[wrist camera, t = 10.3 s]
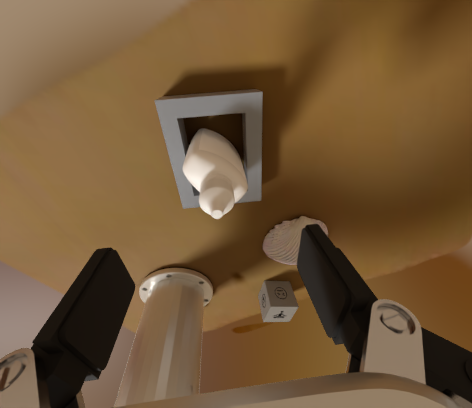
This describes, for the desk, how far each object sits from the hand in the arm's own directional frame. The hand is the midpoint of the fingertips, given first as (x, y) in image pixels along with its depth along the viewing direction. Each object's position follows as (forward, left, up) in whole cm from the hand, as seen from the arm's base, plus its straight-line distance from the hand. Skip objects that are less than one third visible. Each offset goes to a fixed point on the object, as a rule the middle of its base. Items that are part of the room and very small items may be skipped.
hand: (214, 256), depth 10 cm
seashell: (-15, -11, -15) cm, 24 cm away
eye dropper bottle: (+1, 0, -15) cm, 15 cm away
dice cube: (-28, -8, -15) cm, 33 cm away
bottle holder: (+1, 0, -15) cm, 15 cm away
